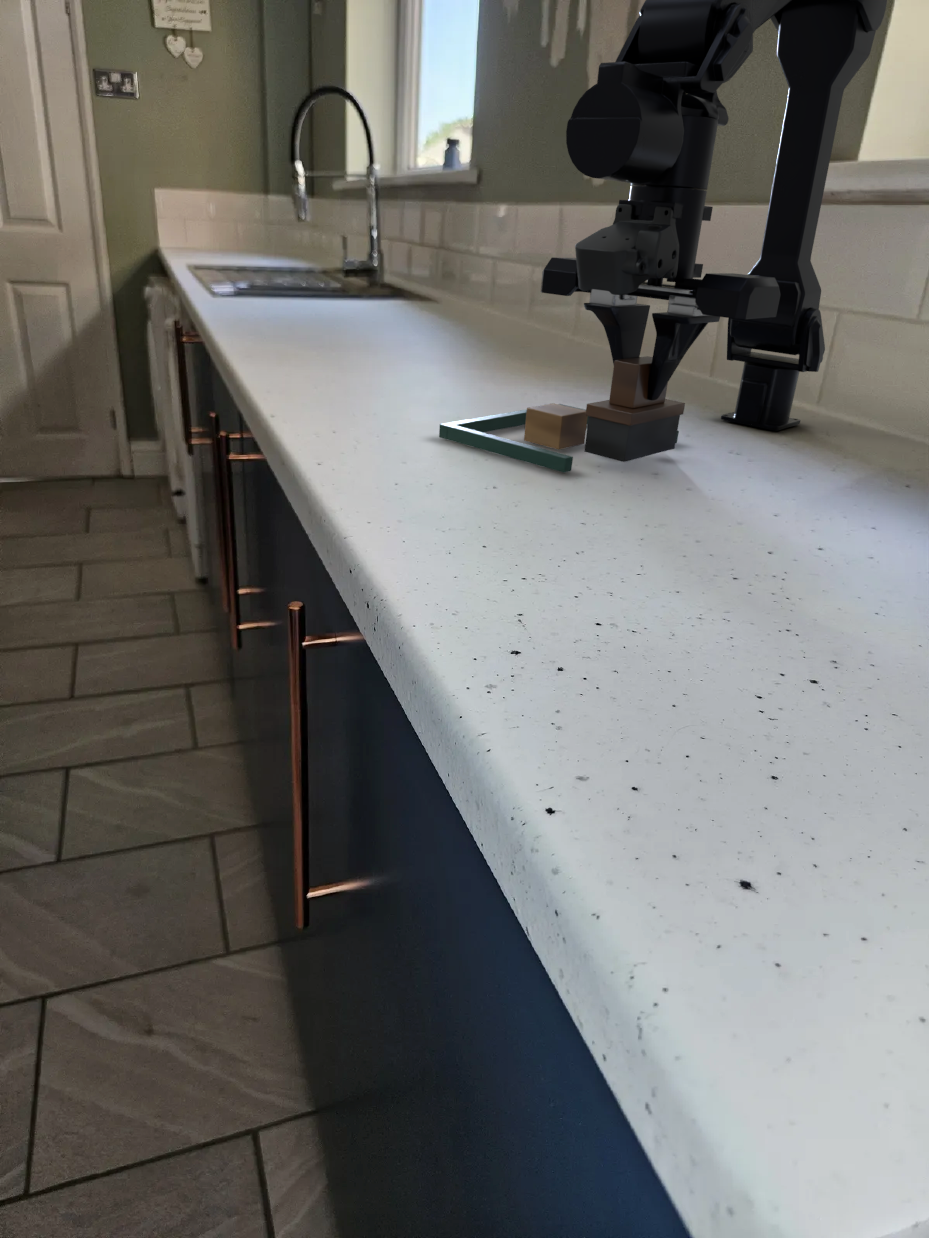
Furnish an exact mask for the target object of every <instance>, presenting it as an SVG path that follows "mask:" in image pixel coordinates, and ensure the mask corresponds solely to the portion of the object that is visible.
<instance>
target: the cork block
mask: <svg viewBox="0 0 929 1238" xmlns="http://www.w3.org/2000/svg"><path fill="white" fill-rule="evenodd" d="M559 404H560V403H554V402H552V403H546V404H543V405H541V404H540V405H536V406H535V405H534V406H530V407H527V408H526V409H527V413H526V423H525V425H524V434H523V435H524V436H523V441H524V442H527V443H532V444H536V445H540V446H543V447H546V448H551V449H554V450H557V451H559V450H563V449H568V448H571V447H577V446H581V445H585V442H586V434H587V426H588V424H587V418H588V416H586V411H585V410H586V409H585V410H581V409H582V408H581V409H577V408H578V407H576V408H572V407H573V406H572V407H568V406H569V405H567V406H563V405H564V404H563V405H559Z"/></svg>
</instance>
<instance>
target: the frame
mask: <svg viewBox="0 0 929 1238" xmlns="http://www.w3.org/2000/svg"><path fill="white" fill-rule="evenodd" d="M558 404H559V405H563V406H568V407H572V408H577V409H581V410H585V411H586V408H585V409H584V408H580V407H577V406H576V407H575V406H571V405H566V404H563V403H558ZM526 413H527V408H526V409H521V410H520V409H519V410H516V411H515V410H513V411H510V412H504V413H497V414H492V415H485V416H480V417H479V416H478V417H473V418H468V419H461V420H456V421H450V422H444V423H439V429H438V430H439V431H438V433H439V434H438V437H439V438H440V439H444V440H448V441H451V442H455V443H458V444H461V445H465V446H468V447H472V448H476V449H479V450H483V451H487V452H490V453H493V454H497V455H500V456H504V457H507V458H510V459H514V460H518V461H521V462H525V463H529V464H532V465H535V466H539V467H543V468H546V469H548V470H549V469H550V470H554V471H556V472H561V473H564V474H565V473H568V472H571V471H572V468H573V460H574V457H573V456H572V455H569V454H565V453H560V452H557V451H553V450H549V449H546V448H542V447H538V446H534V445H531V444H528V443H524V442H519V441H516V440H512V439H508V438H505V437H501V436H497V435H495V434H490V433H488V432H494V431H498V430H504V429H510V428H515V427H521V426H525V423H526ZM588 418H589V416H588ZM588 418H587V425H588ZM679 432H680V431H679V429H678V430H677V436H676V442H675V444H677V443H678V439H679Z"/></svg>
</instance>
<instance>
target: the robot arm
mask: <svg viewBox="0 0 929 1238" xmlns="http://www.w3.org/2000/svg"><path fill="white" fill-rule="evenodd" d="M887 3H888V0H644V2H643V4H642V6H641V7H640V10H639V16H638V17H637V18H636V20H635V22H634V24H633V26H632V28H631V30H630V32H629V34H628V36H627V38H626V40H625V42H624V44H623V45H622V47H621V49H620V51H619V53H618V56H617V58H616V59H615V61H613V62H612V61H611V62H601V63H600V64H599V65H598V72H597V79H596V83H595V84H594V85H592V86H591V87H590V88H589V89H587V90H586V91H585V92H584V93H583V94H582V95H581V97H580V98H579V99H578V101H577V102H576V104H575V106H574V108H573V110H572V113H571V115H570V117H569V119H568V120H567V123H566V130H565V138H566V140H565V142H566V148H567V153H568V156H569V158H570V160H571V163H572V164H573V166H574V168H576V169H577V171H579V172H580V174H582V175H584V176H586V177H589V178H592V179H598V180H604V181H605V180H606V181H612V182H620V183H627V184H630V189H629V197H628V199H619V201H618V205H617V206H616V208H615V214H614V220H613V222H612V224H611V225H608V226H605V227H603V228H600V229H599V230H597V231H595V232H594V233H591V234H590V235H588V236H587V237H585V238H583V239H581V240H580V241H578V242H576V243H575V244H574V251H575V257H553V256H552V257H551V258H550V259H549V261H548V263H547V264H546V265H545V267H544V269H542V272H541V282H540V293H541V294H547V295H556V296H562V297H563V296H564V297H571V296H572V295H573V294H574V293H589V300H588V301H589V302H584V303H583V307H584V309H585V310H586V311H590V312H592V313H593V314H594V315H595V317H596V318H597V319H598V321H599V322H600V323H601V324H602V326H603V330H604V331H605V335H606V338H607V341H608V346H609V349H610V350H609V351H610V353H611V359H612V364H613V365H614V361H615V360H620V359H628V358H637V357H641V351H642V346H643V343H644V342H643V341H644V338H645V337H644V336H645V333H646V328H647V323H648V319H649V314H650V309H651V304H644V303H638V297H640V298H649V299H655V300H665V301H668V304H667V311H665V312H664V311H663V312H651V317H652V322H653V325H654V328H655V334H656V335H655V342H654V348H653V353H652V357H653V358H652V364H651V369H650V375H649V381H648V400H657V399H658V398H659V396H660V394H661V393H662V391H663V389H664V388H665V386H666V385H667V383H668V384H669V381H670V380H671V378H672V377H673V375H674V373H675V372H676V370H677V368H678V366H679V365H680V363H681V362H682V360H683V359H684V357H685V355H686V354H687V352H688V351H689V350H690V348H691V347H692V345H693V344H694V343H695V341H696V340H697V338H699V336H700V334H701V333H702V332H703V330H704V329H705V328H706V327H707V325H708V324H709V323H719V322H720V319H721V318H727V336H726V337H727V338H726V360H727V361H731V362H732V361H736V362H743V368H742V373H741V378H740V381H739V382H740V383H739V386H738V387H739V388H738V392H737V398H736V402H735V403H736V404H735V409H734V411H732V412H728V413H724V414H721V415H720V420H722V421H725V422H726V421H727V422H731V423H736V424H741V425H746V426H750V427H756V428H760V429H764V430H769V431H777V432H778V431H780V430H781V431H782V430H784V429H788V428H791V427H796V426H798V425H800V424H801V421H802V420H801V419H798V418H794V417H790V416H791V412H792V408H793V403H794V400H795V399H794V398H795V394H796V389H797V384H798V382H799V381H798V380H799V376H800V373H806V372H809V373H810V372H811V373H817V372H819V371H820V366H821V363H822V362H823V360H824V355H825V351H826V344H825V335H824V327H823V320H822V313H821V310H820V304H821V296H822V287H821V286H820V282H819V279H818V277H817V274H816V271H815V269H814V266H813V263H812V253H813V248H814V245H815V238H816V232H817V228H818V224H819V223H818V222H819V217H820V213H821V207H822V204H823V203H822V202H823V197H824V193H825V186H826V182H827V177H828V172H829V168H830V161H831V155H832V150H833V147H834V141H835V137H836V131H837V126H838V121H839V116H840V111H841V105H842V101H843V96H844V91H845V89H846V88H847V86H848V85H849V84H850V82H851V81H852V80H853V78H854V77H855V76H856V75H857V73H858V72H859V71H860V69H861V68H862V66H863V65H864V63H865V62H866V61H867V59H868V58H869V56H870V54H871V51H872V48H873V44H874V39H875V36H876V32H877V31H878V30H879V28H880V27H881V25H882V23H883V20H884V17H885V14H886V9H887ZM768 20H770V21H771V22H772V24H773V26H774V28H775V29H776V32H777V33H778V37H777V45H776V46H777V47H776V56H777V59H778V62H779V64H780V67H781V70H782V72H783V75H784V78H785V81H786V83H787V86H788V91H787V92H788V93H787V99H786V105H785V110H784V116H783V122H782V127H781V134H780V140H779V146H778V151H777V157H776V163H775V168H774V175H773V180H772V185H771V192H770V198H769V204H768V208H767V209H768V210H767V214H766V215H767V216H766V221H765V228H764V233H763V237H762V243H761V244H762V245H761V250H760V256H759V260H757V262H756V263H755V264H754V265H753V267H752V268H751V269H750V271H749V272H748V273H747V274H742V273H733V272H732V273H723V272H722V273H714V272H713V273H712V272H711V273H705V274H704V276H703V277H702V275H703V268H704V263H696V260H697V255H698V248H699V243H700V236H701V231H702V230H701V229H702V223H703V221H704V222H711V221H712V213H713V207H714V206H709V205H706V199H707V194H708V191H707V190H708V187H709V180H710V175H711V167H712V164H713V163H712V162H713V156H714V149H715V143H716V138H717V133H718V132H717V131H718V127H725V126H727V125H728V123H729V113H728V111H727V108H726V107H725V106H724V104H722V102H721V100H720V98H719V95H718V89H719V88H720V87H721V86H722V85H723V84H725V83H728V82H730V80H732V78H733V77H734V76H736V74H737V72H738V71H739V70H740V68H741V67H742V66H743V65H744V63H745V62H746V61H747V60H748V58H749V57H750V56H751V54H752V53H753V52H754V34H755V32H756V31H757V29H759V28H760V27H761V26H763V25H764V24H765V23H766V22H768ZM701 278H702V279H701ZM664 279H666V282H668V283H674V284H667V283H663V282H664ZM752 350H755V351H752ZM756 350H757V352H756ZM758 351H763V352H771V353H777V354H784V355H790V356H798V358H796V357H789V356H782V355H776V354H769V353H763V352H758ZM667 386H668V385H667Z"/></svg>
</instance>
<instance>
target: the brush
mask: <svg viewBox="0 0 929 1238" xmlns="http://www.w3.org/2000/svg"><path fill="white" fill-rule="evenodd" d="M652 358H653V356H648V355H645V356H639V357H637V358H628V359H620V360H615V361H614V364H613V368H612V378H611V383H610V393H609V398H608V399H605V400H600V401H595V402H588V403H586V408H585V410H586V416H589V418H588V424H587V426H586V435H585V443H584V450H583V451H584V453H588V454H592V455H595V456H599V457H603V458H606V459H611V460H615V461H618V462H623V463H625V462H626V463H627V462H631V461H633V460H638V459H641V458H645V457H648V456H653V455H657V454H659V453H664V452H666V451H671V450H674V449H676V443H675V442H676V436H677V430H678V431H679V425H680V424H679V423H680V418H681V416H682V415H684V413H685V406H686V403H685V402H683V401H679V400H678V401H677V400H673V399H668V398H667V397H666V396H667V390H668V384H669V382H668V383H667V385H666V386H665V388H664V389H663V391H662V393H661V394H660V396H659V398H658V399H657V400H648V381H649V375H650V369H651V364H652Z"/></svg>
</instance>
